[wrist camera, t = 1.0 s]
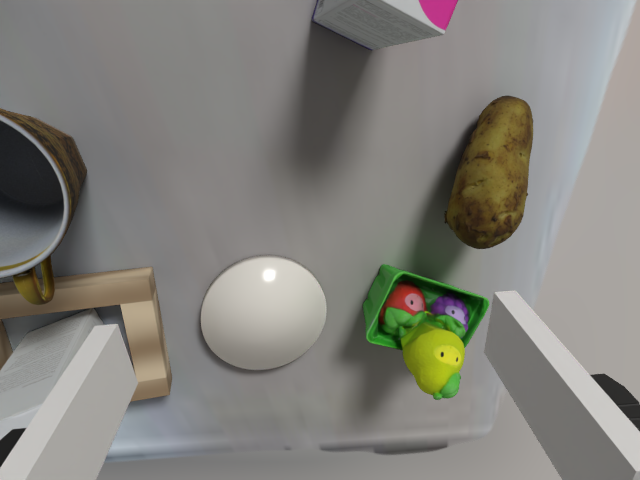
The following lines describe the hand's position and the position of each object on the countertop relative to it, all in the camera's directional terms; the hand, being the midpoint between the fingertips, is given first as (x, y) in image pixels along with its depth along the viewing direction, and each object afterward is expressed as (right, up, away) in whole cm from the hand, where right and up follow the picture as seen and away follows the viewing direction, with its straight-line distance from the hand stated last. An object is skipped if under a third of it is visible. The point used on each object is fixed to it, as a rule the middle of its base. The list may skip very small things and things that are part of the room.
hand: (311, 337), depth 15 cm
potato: (+15, +11, +26) cm, 32 cm away
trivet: (-5, -4, +26) cm, 26 cm away
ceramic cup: (-21, +8, +17) cm, 28 cm away
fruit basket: (+9, -3, +29) cm, 31 cm away
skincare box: (-22, -5, +22) cm, 31 cm away
